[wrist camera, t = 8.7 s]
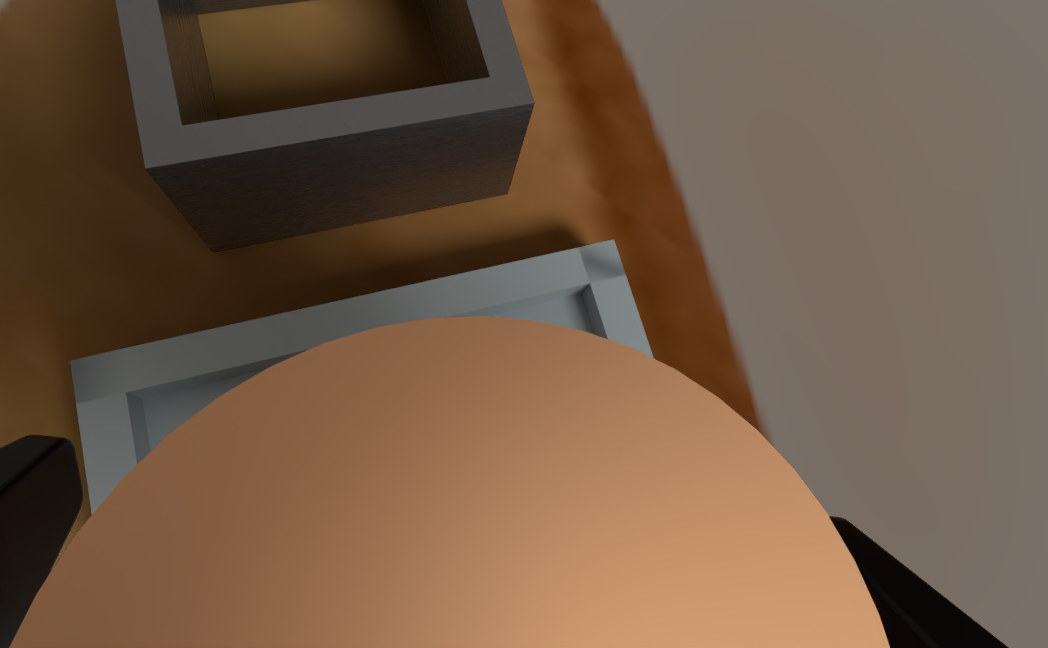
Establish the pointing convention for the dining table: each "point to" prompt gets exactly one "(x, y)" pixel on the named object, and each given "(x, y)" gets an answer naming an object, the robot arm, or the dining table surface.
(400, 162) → the square socket holder
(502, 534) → the peg
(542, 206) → the dining table surface
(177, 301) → the dining table surface
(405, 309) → the tray
